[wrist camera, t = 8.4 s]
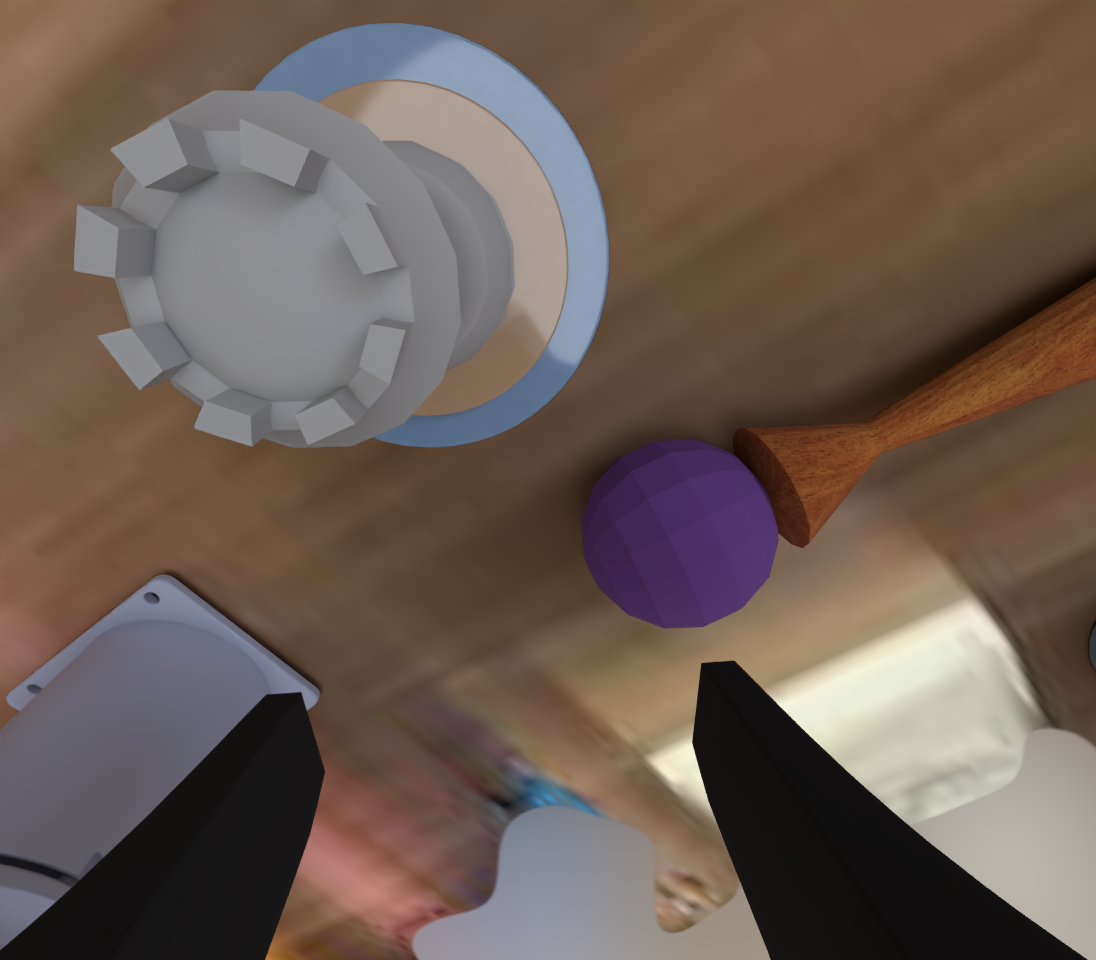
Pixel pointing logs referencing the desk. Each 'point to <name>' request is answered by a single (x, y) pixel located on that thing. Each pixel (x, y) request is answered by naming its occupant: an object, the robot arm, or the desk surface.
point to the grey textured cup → (1093, 647)
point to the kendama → (795, 476)
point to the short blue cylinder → (512, 180)
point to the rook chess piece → (295, 268)
